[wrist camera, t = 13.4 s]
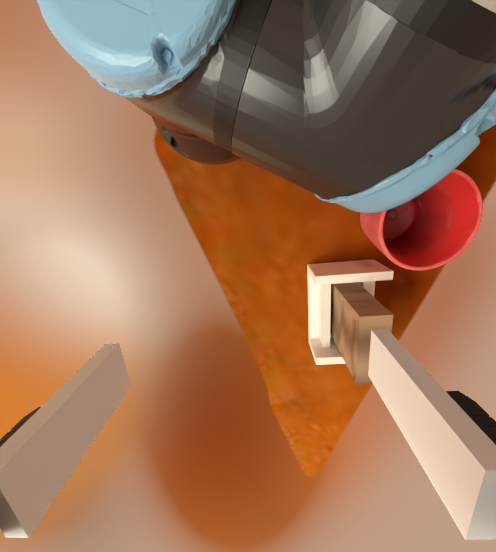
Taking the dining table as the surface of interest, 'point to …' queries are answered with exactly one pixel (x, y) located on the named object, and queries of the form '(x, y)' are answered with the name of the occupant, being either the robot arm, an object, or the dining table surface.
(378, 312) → the walnut panel
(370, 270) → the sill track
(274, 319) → the dining table surface
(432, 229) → the flower pot
